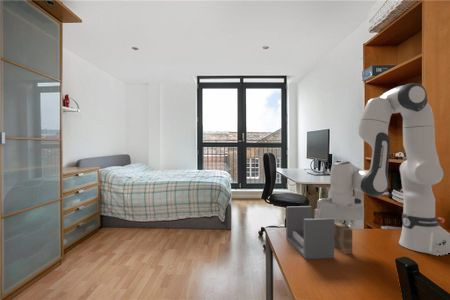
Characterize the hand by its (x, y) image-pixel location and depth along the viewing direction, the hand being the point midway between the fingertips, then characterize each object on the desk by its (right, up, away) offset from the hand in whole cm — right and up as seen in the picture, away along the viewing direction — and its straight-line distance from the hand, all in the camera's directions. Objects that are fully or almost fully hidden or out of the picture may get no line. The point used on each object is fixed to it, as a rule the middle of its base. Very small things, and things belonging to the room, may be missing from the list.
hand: (339, 229), depth 108 cm
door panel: (+1, -8, 0) cm, 8 cm away
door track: (-14, -8, +1) cm, 16 cm away
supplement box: (0, -8, +16) cm, 18 cm away
